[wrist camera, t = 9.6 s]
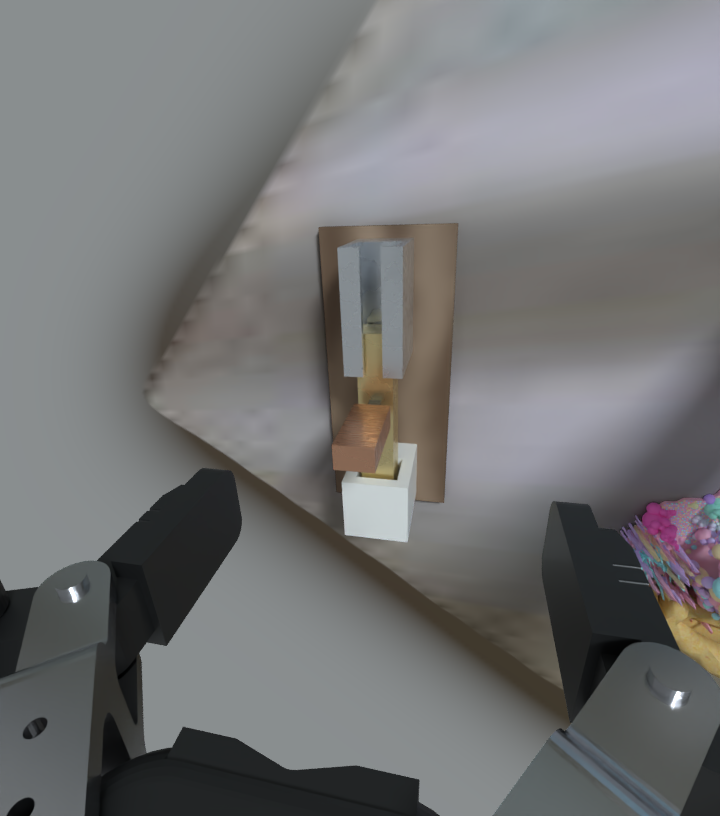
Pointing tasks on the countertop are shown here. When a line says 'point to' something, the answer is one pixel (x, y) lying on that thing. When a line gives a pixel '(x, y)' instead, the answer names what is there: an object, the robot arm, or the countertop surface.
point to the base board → (432, 344)
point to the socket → (382, 500)
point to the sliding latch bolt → (371, 419)
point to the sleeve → (377, 301)
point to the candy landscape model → (684, 571)
